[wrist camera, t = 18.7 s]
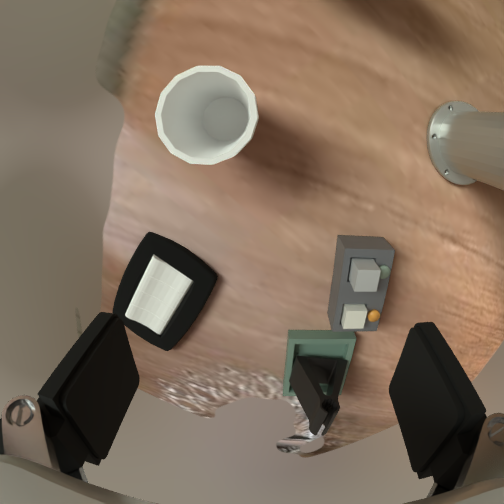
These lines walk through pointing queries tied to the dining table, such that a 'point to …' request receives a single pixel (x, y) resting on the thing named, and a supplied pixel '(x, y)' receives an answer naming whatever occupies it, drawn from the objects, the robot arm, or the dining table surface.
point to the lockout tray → (317, 351)
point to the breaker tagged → (353, 316)
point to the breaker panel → (342, 286)
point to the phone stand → (318, 388)
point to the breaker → (364, 275)
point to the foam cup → (206, 115)
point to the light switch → (162, 291)
